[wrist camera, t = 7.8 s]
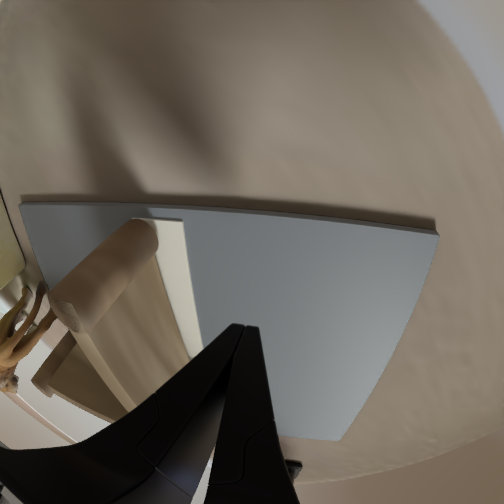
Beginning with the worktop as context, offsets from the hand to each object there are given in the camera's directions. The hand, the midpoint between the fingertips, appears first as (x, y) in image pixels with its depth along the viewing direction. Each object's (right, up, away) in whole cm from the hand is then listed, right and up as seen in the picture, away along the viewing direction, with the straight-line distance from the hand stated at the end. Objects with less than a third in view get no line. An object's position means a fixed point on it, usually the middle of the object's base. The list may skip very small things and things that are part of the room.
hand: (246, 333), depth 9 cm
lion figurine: (-19, -3, +12) cm, 23 cm away
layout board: (-3, -3, +7) cm, 9 cm away
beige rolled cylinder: (-4, 0, +5) cm, 6 cm away
